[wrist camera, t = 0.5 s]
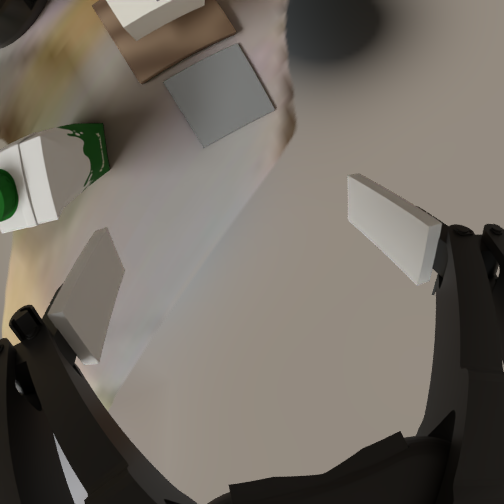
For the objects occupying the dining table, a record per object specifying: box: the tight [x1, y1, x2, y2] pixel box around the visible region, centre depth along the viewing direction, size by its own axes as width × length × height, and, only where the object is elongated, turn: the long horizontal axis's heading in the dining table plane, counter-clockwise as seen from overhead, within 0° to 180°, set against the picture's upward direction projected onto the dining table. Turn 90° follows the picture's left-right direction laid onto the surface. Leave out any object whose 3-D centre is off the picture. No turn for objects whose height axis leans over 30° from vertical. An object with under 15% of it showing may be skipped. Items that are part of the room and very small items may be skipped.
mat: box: [163, 44, 275, 148], centre depth 32 cm, size 11×11×1 cm
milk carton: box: [0, 123, 110, 233], centre depth 24 cm, size 9×9×20 cm
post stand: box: [92, 0, 236, 84], centre depth 20 cm, size 16×14×12 cm
